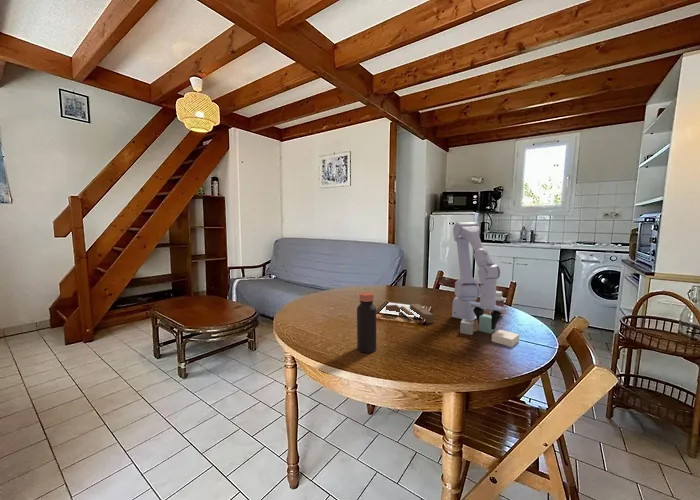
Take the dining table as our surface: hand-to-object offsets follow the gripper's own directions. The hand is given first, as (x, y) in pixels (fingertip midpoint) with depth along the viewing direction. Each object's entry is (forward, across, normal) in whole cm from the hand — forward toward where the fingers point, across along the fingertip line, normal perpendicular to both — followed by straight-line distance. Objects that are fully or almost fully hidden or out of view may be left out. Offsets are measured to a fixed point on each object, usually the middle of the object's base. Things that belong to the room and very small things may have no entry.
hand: (486, 327), depth 120 cm
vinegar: (+2, -23, -47) cm, 52 cm away
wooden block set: (+2, -32, -9) cm, 33 cm away
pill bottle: (+2, -5, +24) cm, 25 cm away
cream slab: (+2, +9, -6) cm, 11 cm away
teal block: (+1, 0, 0) cm, 1 cm away
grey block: (+2, -5, -7) cm, 9 cm away
